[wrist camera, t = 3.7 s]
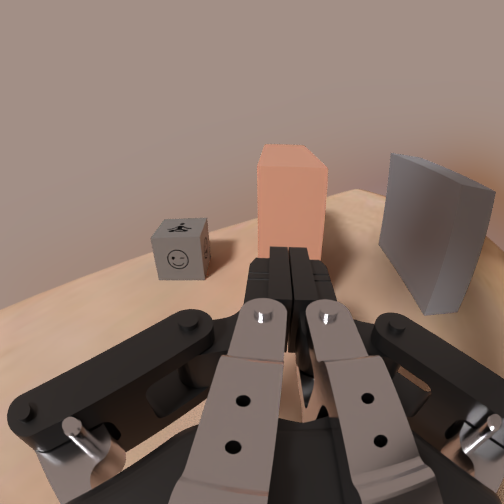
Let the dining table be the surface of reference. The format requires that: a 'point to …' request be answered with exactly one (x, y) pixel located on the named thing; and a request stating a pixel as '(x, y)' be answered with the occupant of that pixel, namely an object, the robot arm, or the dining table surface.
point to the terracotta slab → (291, 199)
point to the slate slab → (434, 230)
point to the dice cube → (182, 249)
